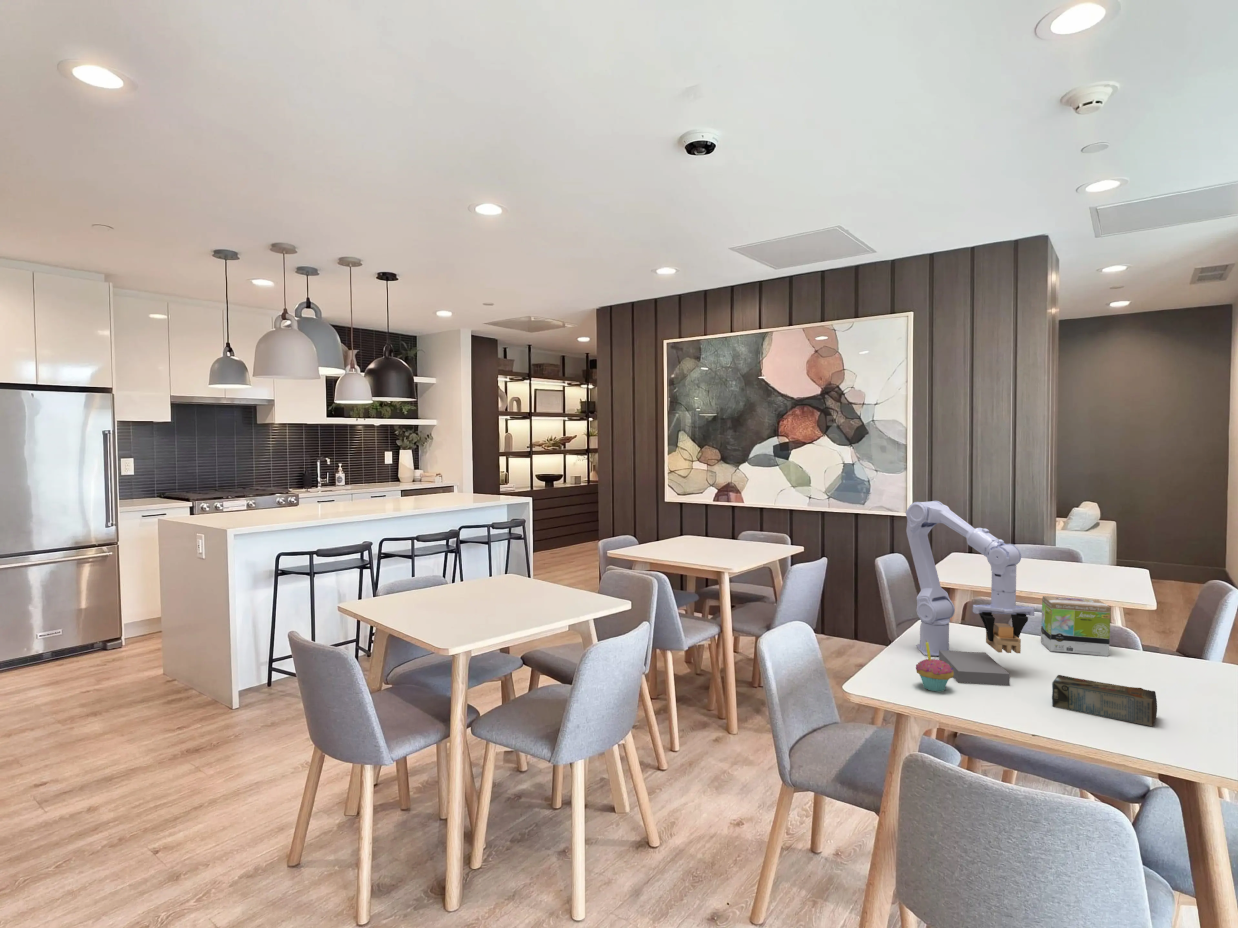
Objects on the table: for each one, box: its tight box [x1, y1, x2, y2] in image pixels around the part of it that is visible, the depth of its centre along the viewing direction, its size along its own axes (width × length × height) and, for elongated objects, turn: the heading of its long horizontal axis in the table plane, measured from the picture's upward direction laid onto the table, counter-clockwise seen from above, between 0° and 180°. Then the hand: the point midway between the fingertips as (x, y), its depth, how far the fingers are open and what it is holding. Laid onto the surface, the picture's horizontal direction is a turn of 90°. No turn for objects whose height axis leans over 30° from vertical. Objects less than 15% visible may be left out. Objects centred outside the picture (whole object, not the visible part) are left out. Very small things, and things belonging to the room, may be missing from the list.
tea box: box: [1040, 595, 1112, 657], centre depth 203 cm, size 15×10×15 cm, turn 73°
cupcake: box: [915, 639, 954, 692], centre depth 172 cm, size 9×8×12 cm
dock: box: [938, 650, 1011, 687], centre depth 183 cm, size 18×12×3 cm, turn 169°
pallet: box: [985, 631, 1022, 654], centre depth 183 cm, size 9×5×4 cm, turn 170°
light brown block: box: [993, 622, 1013, 638], centre depth 183 cm, size 4×4×3 cm
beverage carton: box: [1051, 674, 1158, 727], centre depth 157 cm, size 8×19×7 cm, turn 50°
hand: (1002, 640), depth 183 cm, fingers closed on pallet, 5 cm apart
